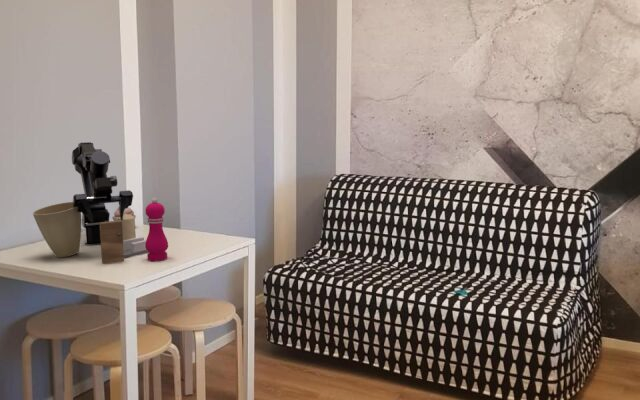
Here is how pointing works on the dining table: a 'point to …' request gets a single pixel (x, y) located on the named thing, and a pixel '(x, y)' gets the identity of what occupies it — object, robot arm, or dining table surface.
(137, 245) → the board
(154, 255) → the pepper mill
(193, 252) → the dining table surface
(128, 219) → the candle
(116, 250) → the door
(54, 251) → the plant pot
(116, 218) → the cupcake
